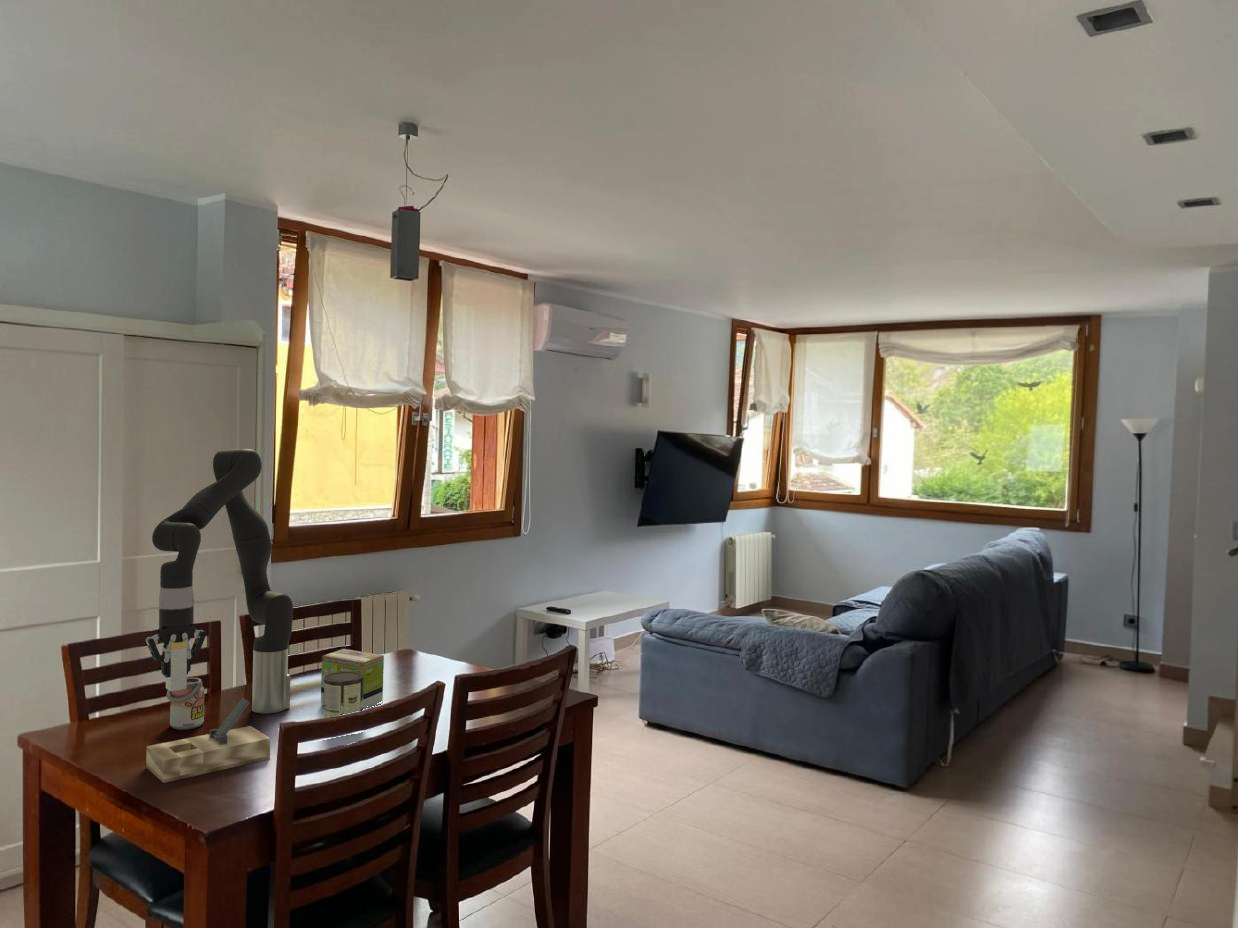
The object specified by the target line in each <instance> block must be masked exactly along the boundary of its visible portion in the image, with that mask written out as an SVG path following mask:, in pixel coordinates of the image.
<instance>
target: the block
mask: <svg viewBox="0 0 1238 928" xmlns="http://www.w3.org/2000/svg"><path fill="white" fill-rule="evenodd" d="M218 729H219V728H213V729H209V733H206V734H202V735H196V736H193V737H187V738H183V739H177V740H173V741H167V742H162V743H161V742H160V743H156V744H152V745H147V746H146V759H145V762H146V765H145V767H146V769H147V770H148V771H149V772H151V774H153V775H154V776H155V777H156V778H157V779H159V781H161V782H162V783H163V784H165V783H169V782H174V781H179V780H183V779H187V778H192V777H197V776H201V775H205V774H210V773H213V772H214V773H215V772H218V771H223V770H227V769H230V768H231V769H232V768H237V767H240V766H245V765H248V764H252V763H257V762H262V761H267V760H271V738H270V737H269V736H267V735H266V734H264V733H263V732H261V731H260V730H258V729H256V728H255V727H254V726H251V725H248V726H243V727H237V728H231V729H230V730H229V731H228V733H227V734H226V735H224V736H219V741H218V740H217V739H215V738H214V737H213V736H212V734H213V733H214V732H216V731H217V730H218Z"/></svg>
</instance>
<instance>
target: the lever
mask: <svg viewBox="0 0 1238 928" xmlns="http://www.w3.org/2000/svg"><path fill="white" fill-rule="evenodd" d="M250 704H251V702H250V701H249V700H248V699H246V698H244V697H241V699H240V700H239V701H238V703H237V704H236V705H235V706H234V708H233V709H232V710H231V712H230V713H229V715H228V716H227V717H226V718H225V719H224V721H223V722H222V724H220V726H219V728H217V729H218V730H217V731H216V732H214V733H213V734H212V736H213V737H214V738H215V739H217V740H218V741H219V736H224V735H226V734H227V733H228V731H229V730H232V728H233V726H234V725H235V723H236V722H237V721H238V719H239V718H240V717H241V715H242V714H243V713H244V711H245V710H247V709H246V708H248V706H249V705H250Z"/></svg>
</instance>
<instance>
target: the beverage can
mask: <svg viewBox="0 0 1238 928" xmlns="http://www.w3.org/2000/svg"><path fill="white" fill-rule="evenodd" d="M203 685H204V681H202V679H201V678H199V677H187V689H182V690H176V691H169V690H168V689H166V690H167V692H166V694H165V695H166V698H167V700H169V701H170V702H169V725H170V727H171V728H172V729H174V730H178V731H179V730H180V731H181V730H182V731H184V730H185V731H186V730H193V729H196V728H198V727H201V726H202V724H203V723H204V721H205V688H204V686H203Z"/></svg>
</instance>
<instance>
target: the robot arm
mask: <svg viewBox="0 0 1238 928" xmlns="http://www.w3.org/2000/svg"><path fill="white" fill-rule="evenodd" d="M262 467H263V463H262V459H261V456H260V455H259V453H258V451H256V450H254V449H251V448H233V449H223V450H218V451H217V452H216V453H215V454H214V457H213V460H212V468H213V469H212V470H213V473H214V474H213V475H214V478H215V482H213V483H212V484H209V485H208V486H205V487H203V488H202V489H201V490H199V491H198V492H196V493H195V494H194V495H193V496H192V497H191V498H190V499H189V500H188V501H187V502H186V503H185V505H184V506H183V507H182V508H181V509H179V510H177V511H175V512H173V513H172V514H171V515H168V516H167V517H165V518H164V519H163V520H162V521H160V522H159V523H158V524H157V525H156V527H155V528H154V530H153V532H152V537H151V540H152V544H153V546H154V547H155V548H156V549H157V550H159V551H162V552H173V553H174V552H176V553H178V554H177V556H176V558H175V560H170V561H166V562H163V563H162V565H161V567H160V571H159V572H160V573H159V574H160V579H159V580H160V581H159V582H160V587H159V595H158V630H157V632H156V634H154V635H152V636H146V637H145V639H144V640H145V643H146V645H147V649H148V650H149V651H150V652H149V653H150V654H151V655H150V656H151V657H152V659H153V660H155V661H157V662H161V675H162V676H164V678H165V679H166V678H168V677H170V662H169V659H170V653H171V648H170V647H171V643H174V642H180V641H183V642H184V641H187V675H189V673H190V672H191V669H192V666H191V664H192V659H193V657H195V656H199V654H200V652H201V649H202V647H203V644H204V642H205V639H206V636H207V631H205V630H203V629H199V630H198V629H196V628H195V625H194V623H195V622H194V617H195V616H194V615H195V614H194V611H195V609H194V608H195V605H194V604H195V598H194V597H195V596H194V587H193V586H194V585H193V584H194V583H193V577H194V576H193V573H194V572H193V569H194V565H195V562H196V558H197V554H198V552H199V548H200V545H201V541H202V540H201V539H202V535H201V531H200V530H203V529H205V528H206V526H208V524H209V523H210V522H211V521H212V519H214V518H215V516H217V515H216V514H218V512H219V511H221V509H222V508H223V507H224V506H225V509H226V513H227V517H228V521H229V524H230V528H231V529H230V530H231V533H232V537H233V538H232V539H233V542H234V543H233V544H234V546H235V551H236V553H237V557H238V560H239V566H240V570H241V574H242V579H243V584H244V585H243V586H244V592H245V594H244V595H245V601H246V608H247V612H248V615H249V617H250V619H251V620H252V621H254V622H256V623H258V624H262V625H264V631H263V632H264V633H263V634H262V635H261V636H258V637H256V638H255V639H254V640H253V646H252V647H253V648H252V649H253V650H252V655H253V657H252V659H253V660H252V692H251V693H252V695H251V696H252V697H251V698H252V700H251V701H252V702H251V710H252V712H254V713H257V714H274V713H279V712H282V711H285V710H287V709H290V708H291V707H290V706H291V674H289V673H288V669H289V663H288V662H289V642H290V639H291V636H292V632H293V631H292V630H293V620H294V619H293V618H294V616H293V615H294V605H293V601H292V599H291V597H290V596H289V595H288V594H285V593H282V592H276V591H272V589H271V587H270V583H269V580H268V574H267V569H268V566H269V561H270V558H271V555H272V546H273V545H272V538H271V535H270V531H269V527H268V524H267V521H266V520H265V519H264V517H262V515H261V514H260V513H259V512H258V511H257V510H256V509H255V507H253V506H252V504H251V503H250V502H249V500H247V498H246V496H245V494H244V492H243V491H244V489H245V488H247V487H248V486H249V485H251V484H252V483H253V482H255V481H256V480H257V479H258V477H259V476H260V474H261V471H262ZM193 636H194V641H193V643H192V645H190V642H189V641H190V640H191V639H192V638H193ZM158 640H160V641H161V642H162V647H161V651H162V652H161V654H160V652H159V649H158V646H157V645H158V643H159V642H158Z"/></svg>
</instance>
